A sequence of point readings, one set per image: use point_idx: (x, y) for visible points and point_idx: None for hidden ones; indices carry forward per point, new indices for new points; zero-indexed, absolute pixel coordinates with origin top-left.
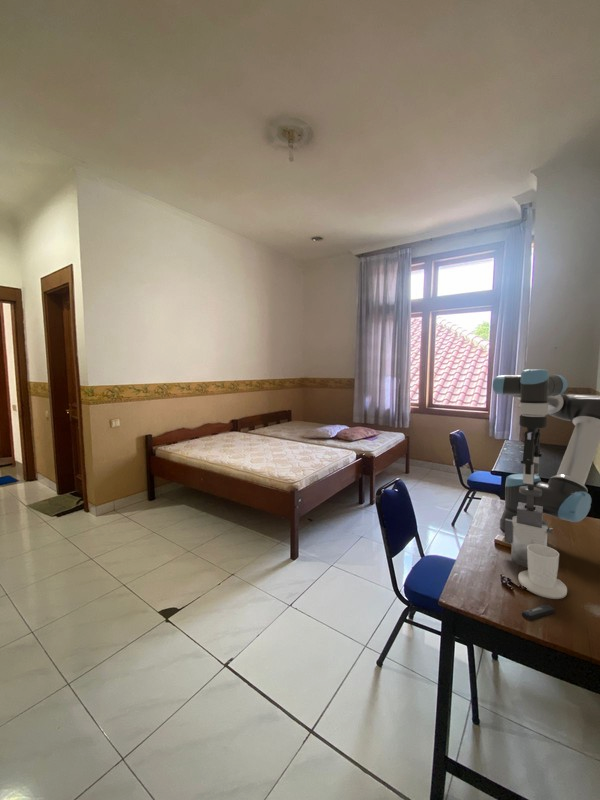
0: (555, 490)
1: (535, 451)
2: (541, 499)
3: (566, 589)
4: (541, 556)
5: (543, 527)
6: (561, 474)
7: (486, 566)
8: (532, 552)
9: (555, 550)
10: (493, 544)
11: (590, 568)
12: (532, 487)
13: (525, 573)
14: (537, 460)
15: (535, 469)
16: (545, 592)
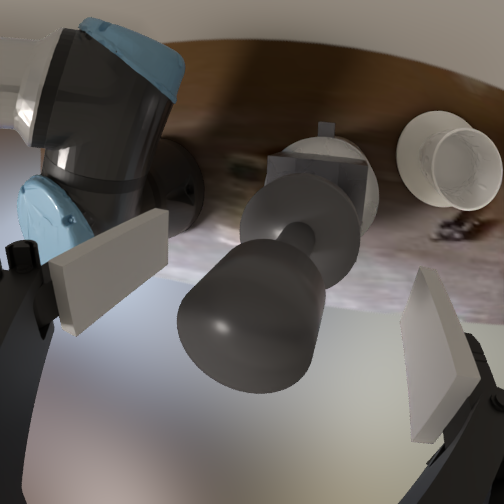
0: (99, 115)
1: (26, 331)
2: (137, 157)
3: (448, 113)
4: (501, 180)
5: (354, 153)
6: (15, 109)
7: (409, 268)
8: (490, 200)
9: (452, 133)
10: None
11: (287, 45)
12: (309, 235)
13: (422, 190)
14: (86, 263)
15: (310, 288)
16: None
